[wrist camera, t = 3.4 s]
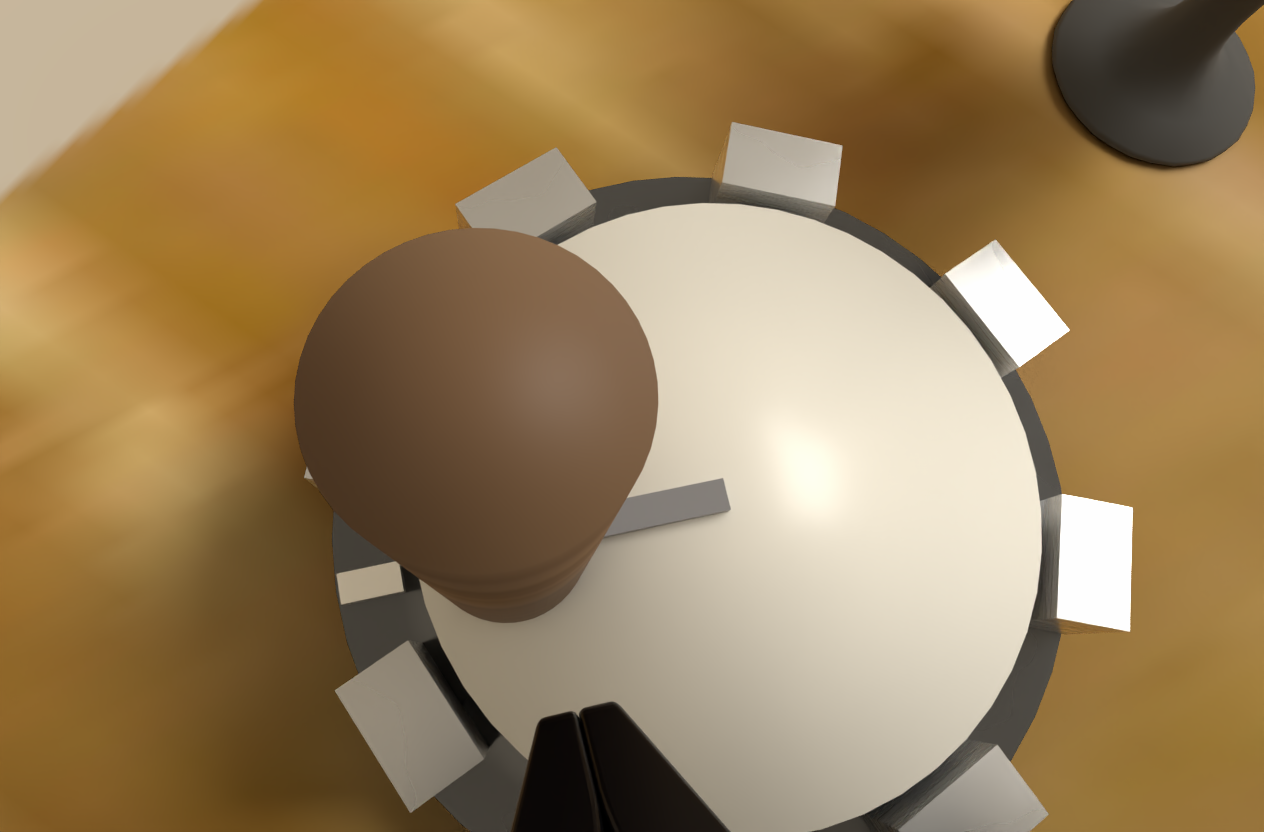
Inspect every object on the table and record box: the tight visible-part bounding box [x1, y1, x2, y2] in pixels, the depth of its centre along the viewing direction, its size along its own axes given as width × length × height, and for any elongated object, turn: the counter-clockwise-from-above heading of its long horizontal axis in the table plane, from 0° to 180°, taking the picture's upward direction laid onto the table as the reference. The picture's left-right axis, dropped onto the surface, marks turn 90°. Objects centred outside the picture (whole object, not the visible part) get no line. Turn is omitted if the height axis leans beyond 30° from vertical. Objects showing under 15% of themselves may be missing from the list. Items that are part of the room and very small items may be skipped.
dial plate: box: [304, 122, 1132, 832], centre depth 16 cm, size 13×13×3 cm
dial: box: [294, 203, 1042, 832], centre depth 11 cm, size 10×10×10 cm
